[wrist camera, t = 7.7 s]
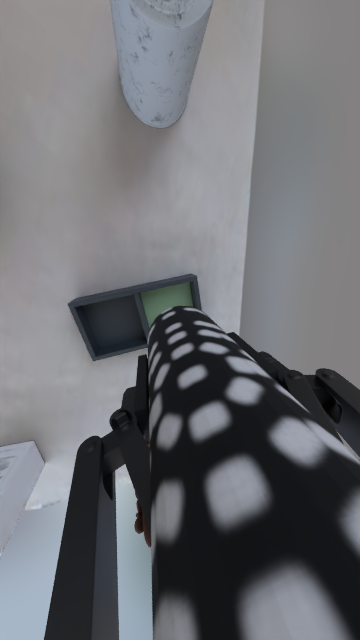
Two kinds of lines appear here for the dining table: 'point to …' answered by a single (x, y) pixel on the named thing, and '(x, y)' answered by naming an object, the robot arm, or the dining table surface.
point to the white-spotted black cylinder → (244, 498)
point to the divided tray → (129, 314)
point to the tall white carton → (16, 484)
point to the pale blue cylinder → (158, 54)
